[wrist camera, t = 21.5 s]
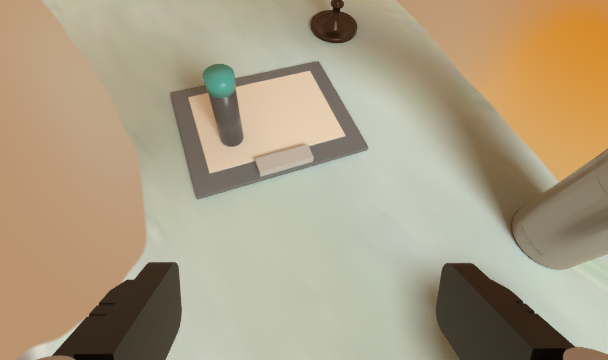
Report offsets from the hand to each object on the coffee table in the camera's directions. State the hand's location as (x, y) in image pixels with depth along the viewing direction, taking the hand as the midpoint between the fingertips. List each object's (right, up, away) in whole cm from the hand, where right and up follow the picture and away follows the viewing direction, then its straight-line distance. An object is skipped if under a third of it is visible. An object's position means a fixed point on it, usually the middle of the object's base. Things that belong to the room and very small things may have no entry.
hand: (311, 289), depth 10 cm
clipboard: (-6, +12, +43) cm, 45 cm away
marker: (-11, +10, +39) cm, 42 cm away
